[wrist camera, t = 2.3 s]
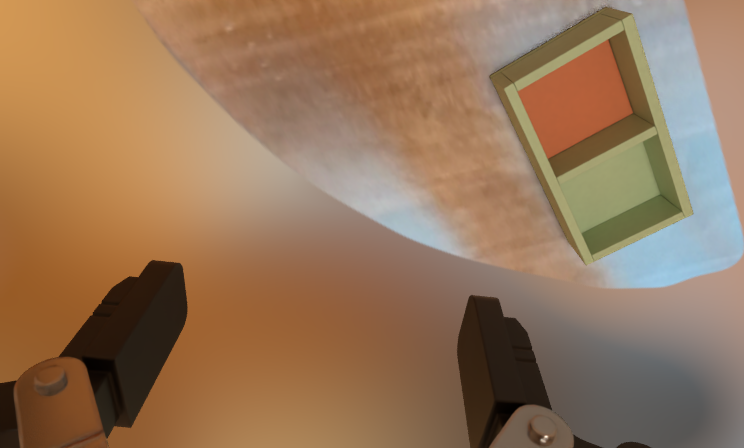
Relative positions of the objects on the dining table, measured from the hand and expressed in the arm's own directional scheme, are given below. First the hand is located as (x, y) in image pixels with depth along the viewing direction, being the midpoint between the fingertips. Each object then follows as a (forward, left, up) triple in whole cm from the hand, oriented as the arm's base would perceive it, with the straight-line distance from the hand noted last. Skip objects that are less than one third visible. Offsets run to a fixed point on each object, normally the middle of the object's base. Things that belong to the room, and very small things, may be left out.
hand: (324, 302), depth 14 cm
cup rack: (+19, +2, -24) cm, 31 cm away
